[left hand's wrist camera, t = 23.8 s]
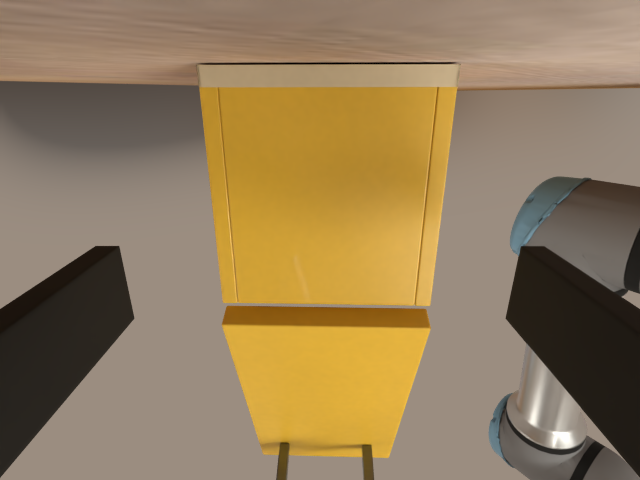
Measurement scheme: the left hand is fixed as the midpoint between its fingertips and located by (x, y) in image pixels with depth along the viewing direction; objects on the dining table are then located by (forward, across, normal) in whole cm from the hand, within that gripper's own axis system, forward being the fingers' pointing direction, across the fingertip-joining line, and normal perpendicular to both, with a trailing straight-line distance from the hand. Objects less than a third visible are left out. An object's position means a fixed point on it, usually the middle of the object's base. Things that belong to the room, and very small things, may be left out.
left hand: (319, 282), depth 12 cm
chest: (+13, 0, -7) cm, 15 cm away
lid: (+8, 0, +12) cm, 15 cm away
